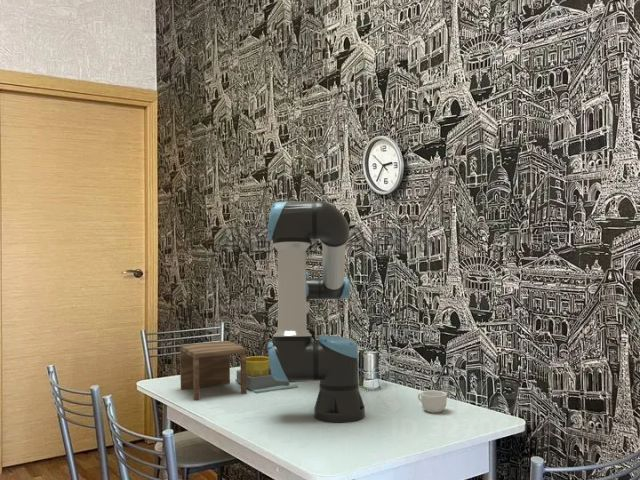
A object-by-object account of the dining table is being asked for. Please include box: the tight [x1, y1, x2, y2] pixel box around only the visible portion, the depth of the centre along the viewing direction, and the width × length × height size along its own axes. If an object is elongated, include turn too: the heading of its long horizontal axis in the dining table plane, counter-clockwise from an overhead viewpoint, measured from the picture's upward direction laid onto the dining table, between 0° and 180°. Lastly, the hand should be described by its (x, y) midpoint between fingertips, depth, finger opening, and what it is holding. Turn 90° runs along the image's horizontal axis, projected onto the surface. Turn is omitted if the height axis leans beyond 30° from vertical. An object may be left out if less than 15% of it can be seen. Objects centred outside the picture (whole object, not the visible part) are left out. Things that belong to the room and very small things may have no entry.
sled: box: [236, 369, 290, 391], centre depth 230 cm, size 15×25×11 cm, turn 117°
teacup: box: [417, 389, 448, 414], centre depth 192 cm, size 10×8×5 cm
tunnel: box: [179, 340, 248, 401], centre depth 219 cm, size 18×18×16 cm
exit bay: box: [234, 378, 299, 394], centre depth 229 cm, size 21×16×1 cm
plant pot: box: [246, 355, 270, 377], centre depth 226 cm, size 10×10×10 cm
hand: (300, 375), depth 235 cm, fingers closed on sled, 5 cm apart
